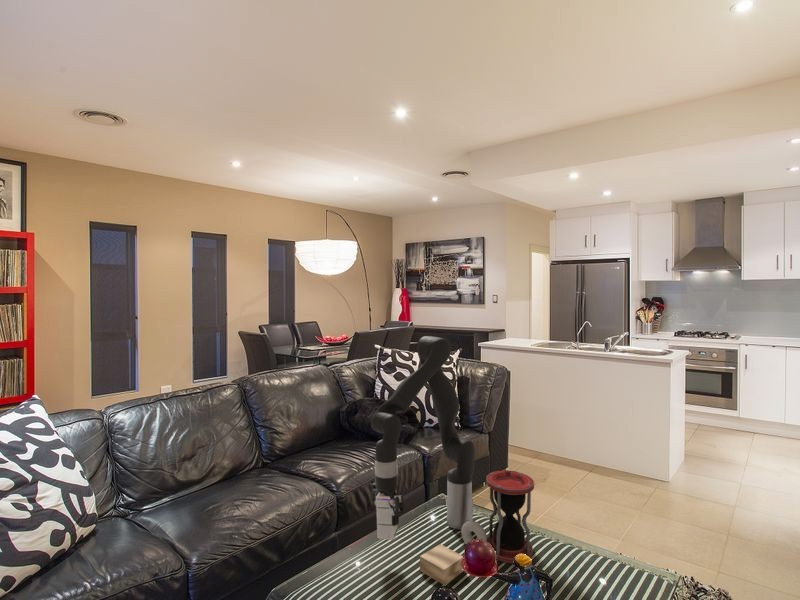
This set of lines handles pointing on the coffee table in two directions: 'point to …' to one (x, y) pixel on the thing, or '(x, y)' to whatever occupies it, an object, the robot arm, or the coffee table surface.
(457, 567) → the oak block
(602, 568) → the coffee table surface
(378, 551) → the coffee table surface
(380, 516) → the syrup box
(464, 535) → the donut
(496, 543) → the hourglass
